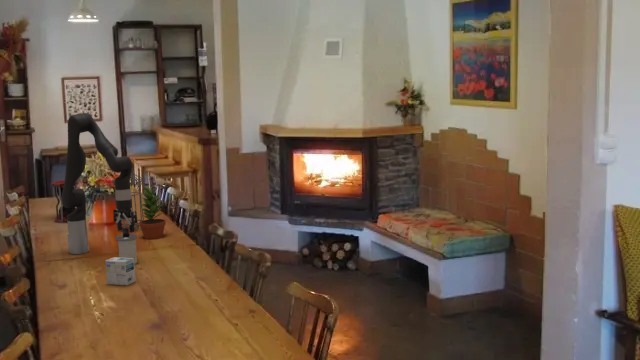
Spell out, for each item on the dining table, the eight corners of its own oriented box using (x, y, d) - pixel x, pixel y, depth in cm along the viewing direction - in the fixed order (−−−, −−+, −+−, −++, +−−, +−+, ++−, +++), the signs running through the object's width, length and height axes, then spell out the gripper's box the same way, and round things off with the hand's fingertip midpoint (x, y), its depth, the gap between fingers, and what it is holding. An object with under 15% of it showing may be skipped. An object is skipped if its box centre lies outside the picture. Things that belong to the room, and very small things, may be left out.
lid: (111, 239, 343) (110, 229, 342) (127, 235, 351) (126, 225, 351) (125, 242, 338) (124, 231, 337) (141, 237, 346) (140, 227, 345)
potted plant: (173, 235, 403) (169, 182, 398) (153, 241, 390) (149, 187, 385) (154, 232, 411) (150, 181, 406) (134, 238, 398) (130, 185, 393)
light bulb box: (136, 281, 314) (134, 257, 313) (127, 285, 308) (125, 261, 307) (115, 279, 318) (113, 256, 316) (106, 284, 312) (104, 260, 310)
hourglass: (50, 222, 449) (46, 183, 445) (63, 217, 465) (59, 179, 461) (73, 223, 446) (70, 183, 442) (86, 217, 462) (82, 179, 458)
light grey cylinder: (132, 265, 342) (130, 240, 340) (116, 264, 343) (114, 240, 341) (140, 260, 349) (138, 236, 348) (124, 260, 351) (122, 236, 349)
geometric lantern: (123, 227, 429) (120, 169, 424) (148, 227, 427) (145, 169, 422) (112, 232, 414) (109, 173, 409) (138, 233, 411) (135, 173, 407)
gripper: (107, 198, 342) (110, 231, 345) (127, 200, 334) (130, 234, 337) (119, 196, 348) (122, 228, 351) (139, 198, 341) (142, 231, 343)
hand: (126, 231), depth 344 cm, fingers open, 8 cm apart
